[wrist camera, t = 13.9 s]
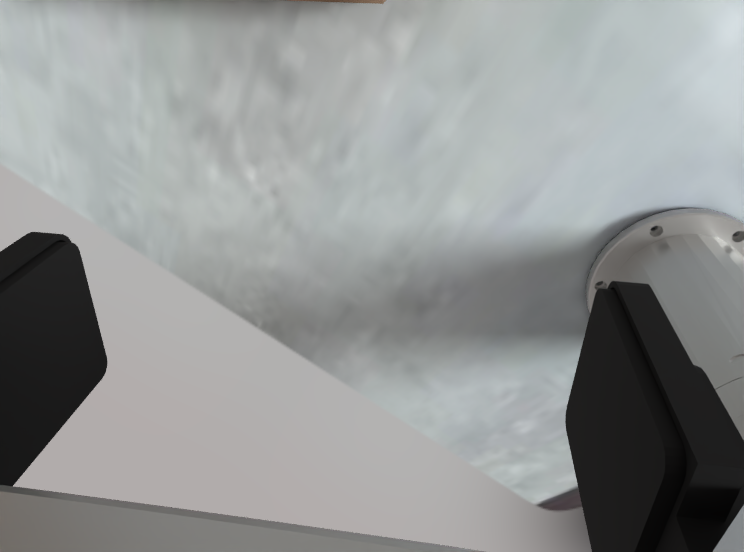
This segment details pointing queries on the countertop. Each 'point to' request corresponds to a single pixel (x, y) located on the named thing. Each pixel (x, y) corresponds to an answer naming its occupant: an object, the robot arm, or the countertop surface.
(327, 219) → the countertop surface
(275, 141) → the countertop surface
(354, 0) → the frame
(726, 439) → the robot arm
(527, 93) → the countertop surface
